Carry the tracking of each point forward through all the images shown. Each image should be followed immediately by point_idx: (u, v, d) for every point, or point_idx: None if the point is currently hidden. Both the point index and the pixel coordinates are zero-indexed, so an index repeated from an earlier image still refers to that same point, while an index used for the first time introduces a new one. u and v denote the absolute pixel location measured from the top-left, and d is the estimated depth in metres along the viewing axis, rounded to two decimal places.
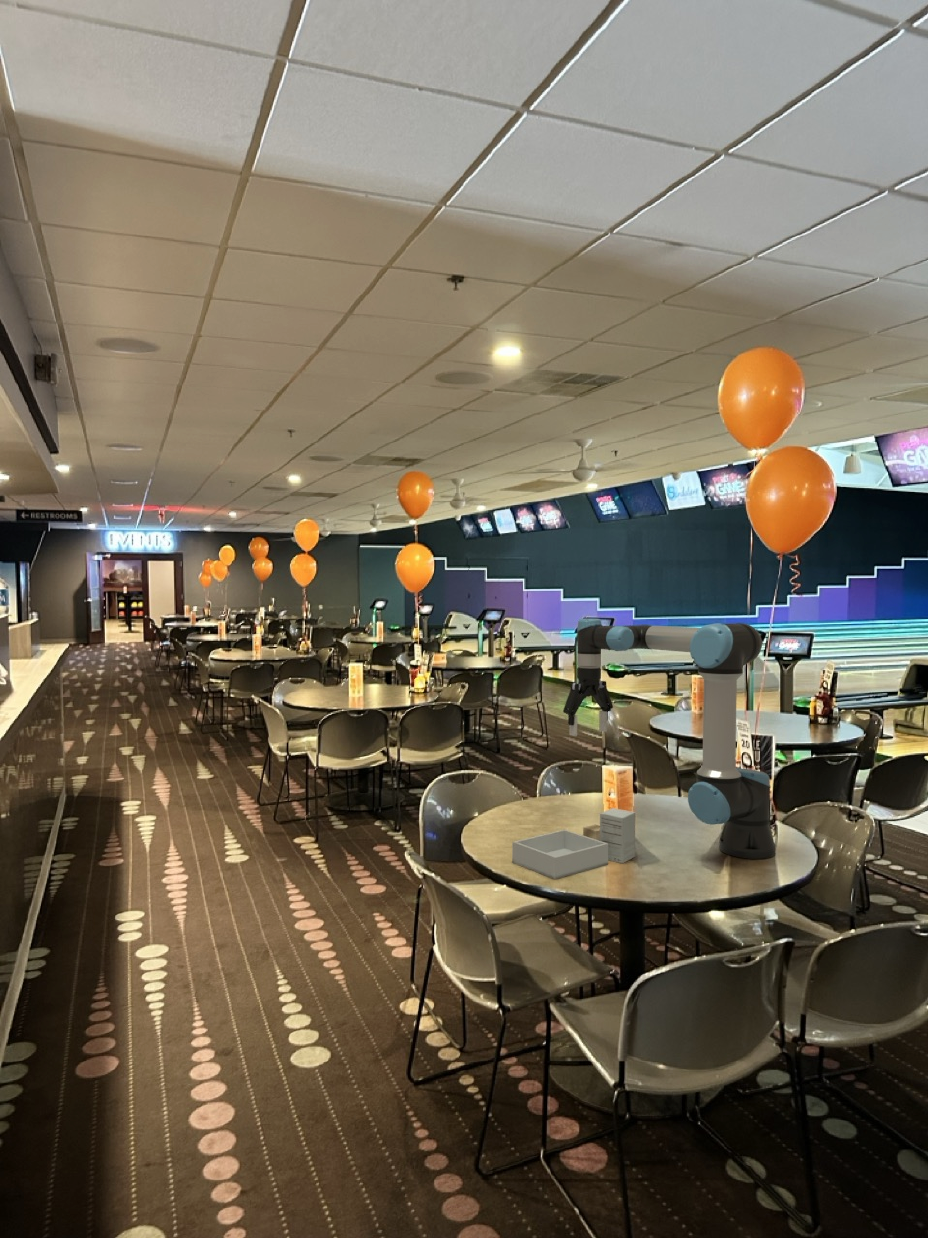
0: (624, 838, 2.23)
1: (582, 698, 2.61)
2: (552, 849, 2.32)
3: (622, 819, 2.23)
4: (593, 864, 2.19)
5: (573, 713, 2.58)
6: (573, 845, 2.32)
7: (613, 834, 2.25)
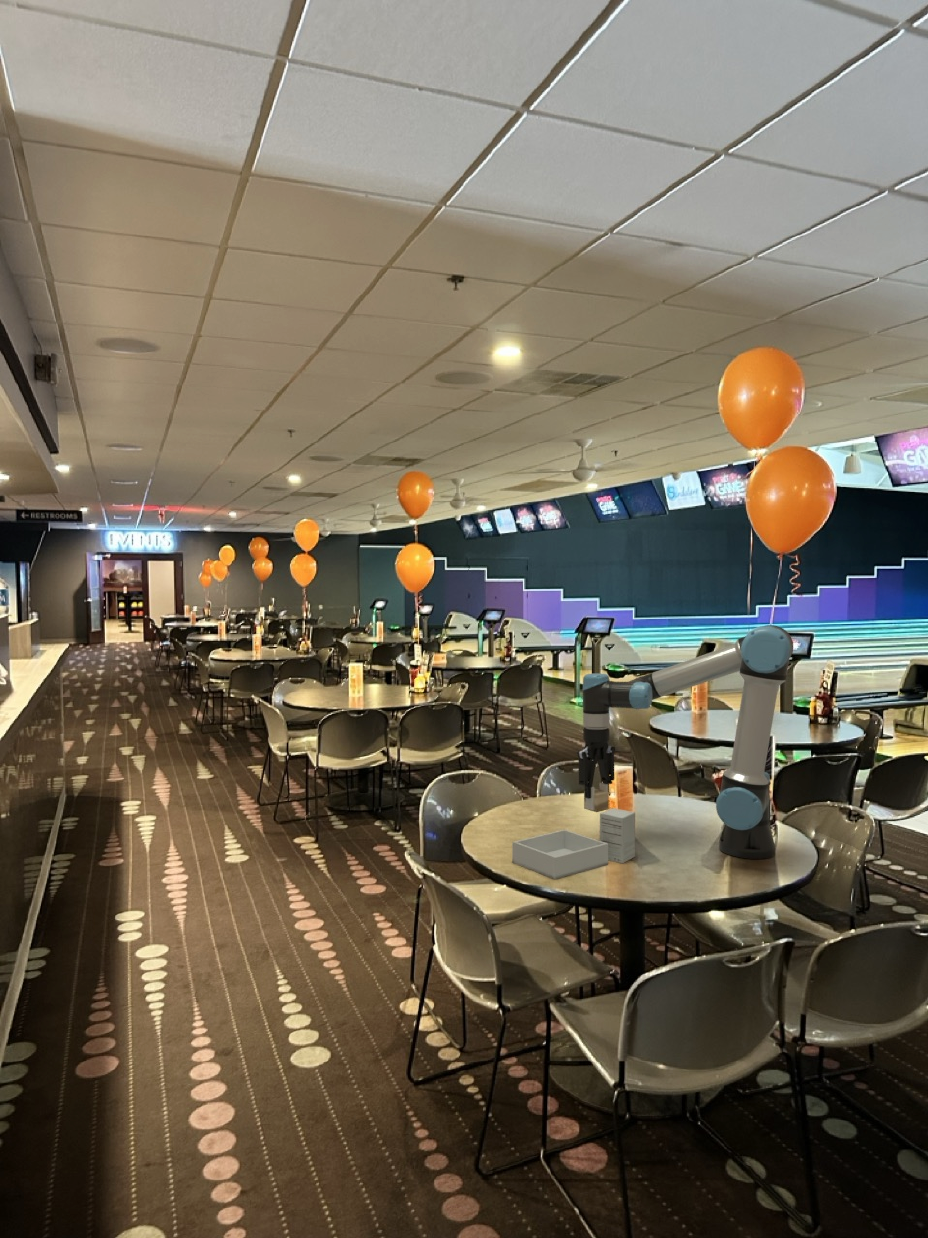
0: (624, 838, 2.23)
1: (594, 765, 2.37)
2: (552, 849, 2.32)
3: (622, 819, 2.23)
4: (593, 864, 2.19)
5: (590, 785, 2.36)
6: (573, 845, 2.32)
7: (613, 834, 2.25)
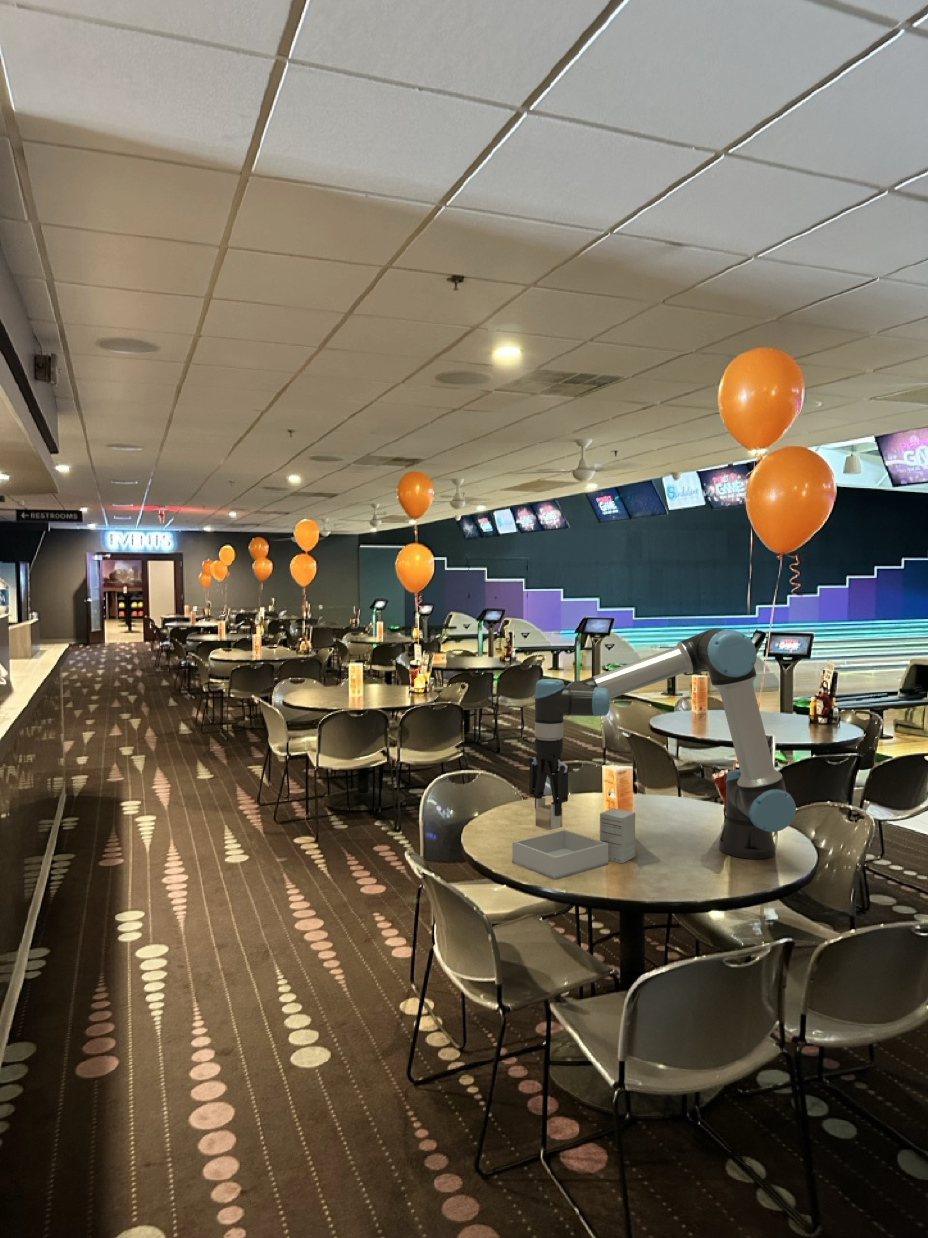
0: (624, 838, 2.23)
1: (538, 776, 2.21)
2: (552, 849, 2.32)
3: (622, 819, 2.23)
4: (593, 864, 2.19)
5: (534, 796, 2.22)
6: (573, 845, 2.32)
7: (613, 834, 2.25)
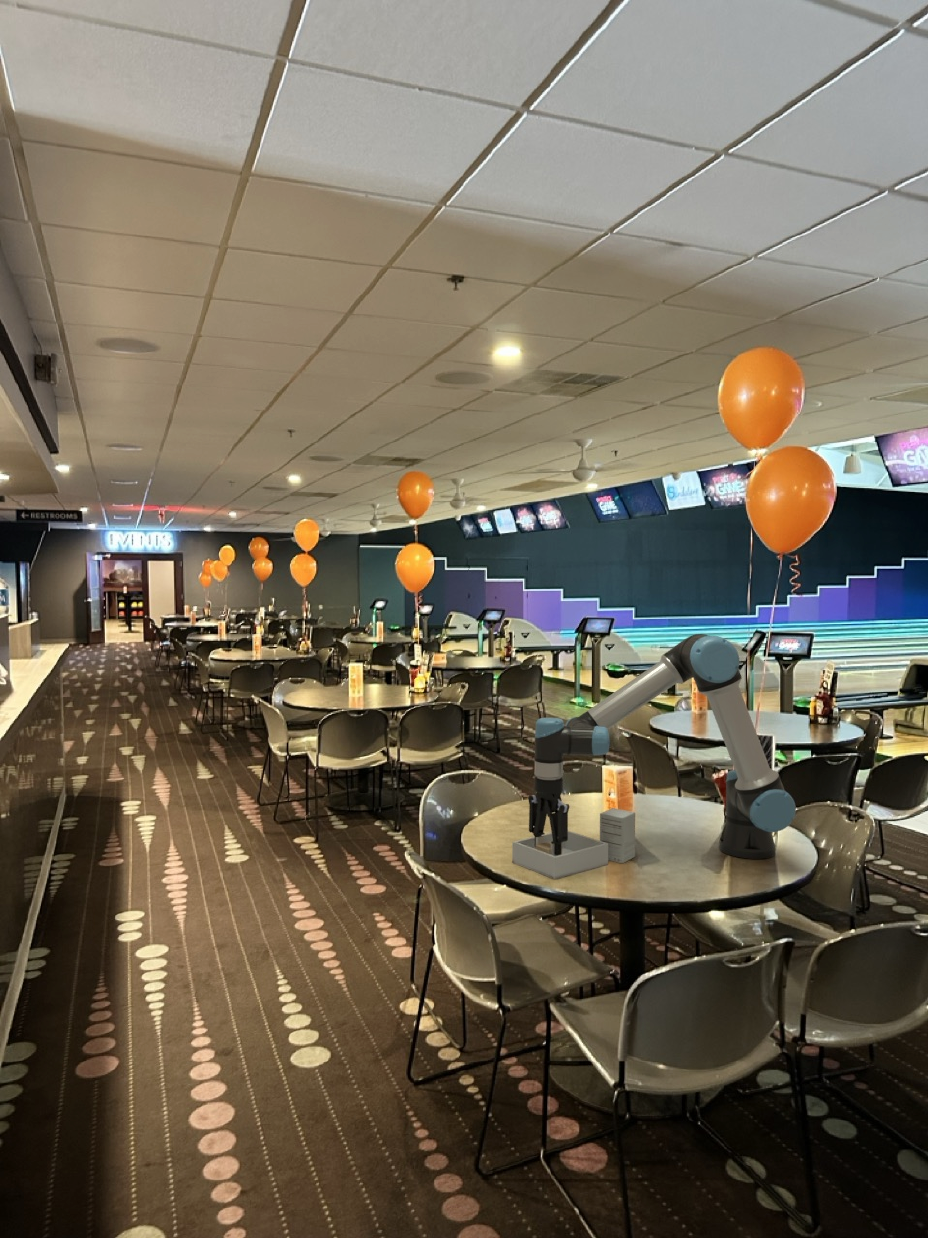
0: (624, 838, 2.23)
1: (538, 814, 2.21)
2: None
3: (622, 819, 2.23)
4: (593, 864, 2.19)
5: (534, 834, 2.23)
6: (573, 845, 2.32)
7: (613, 834, 2.25)
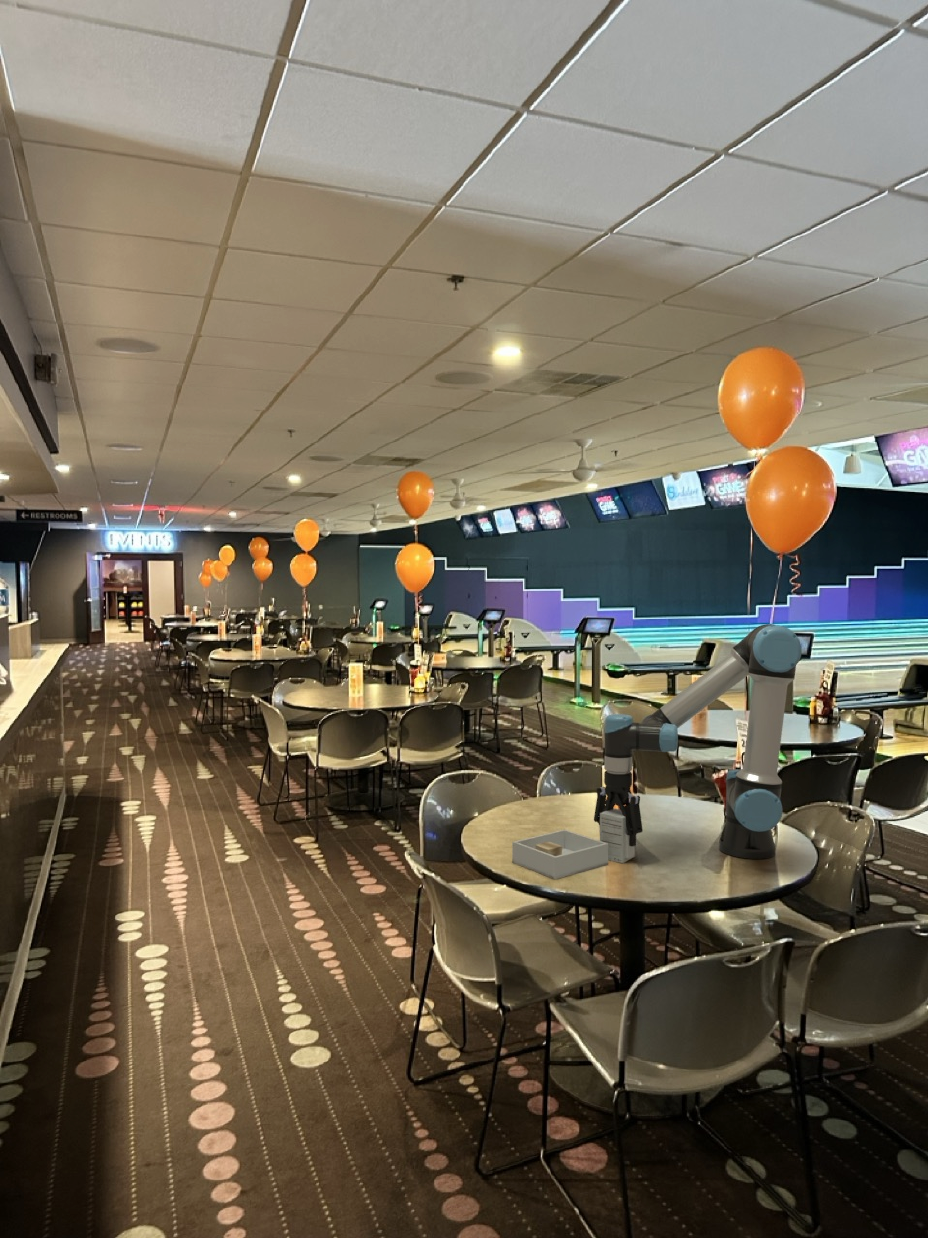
0: (624, 838, 2.23)
1: (606, 806, 2.29)
2: None
3: (622, 819, 2.23)
4: (593, 864, 2.19)
5: (599, 823, 2.32)
6: (573, 845, 2.32)
7: (613, 834, 2.25)
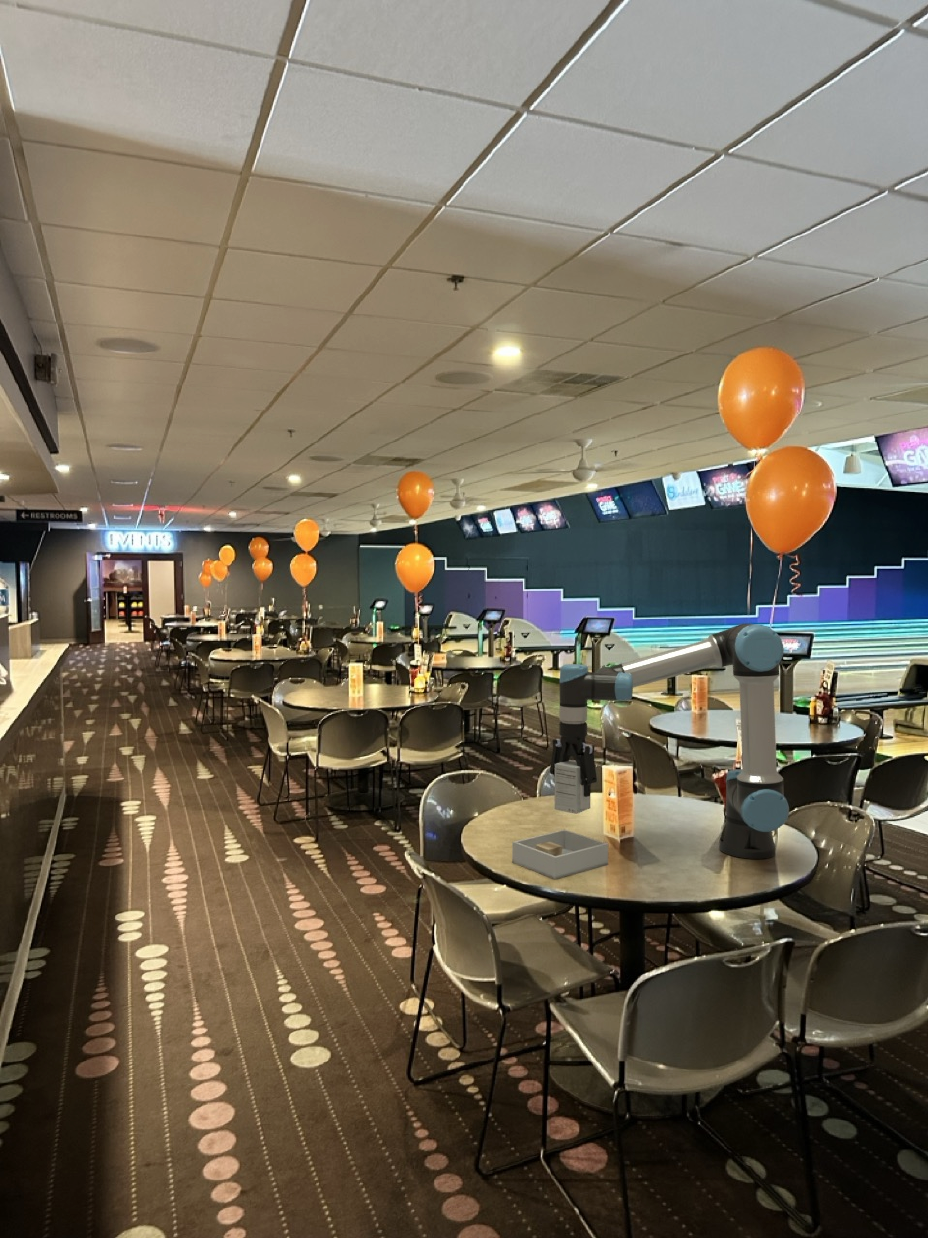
0: (578, 788, 2.21)
1: (561, 757, 2.27)
2: None
3: (576, 769, 2.20)
4: (593, 864, 2.19)
5: None
6: (573, 845, 2.32)
7: (568, 785, 2.22)
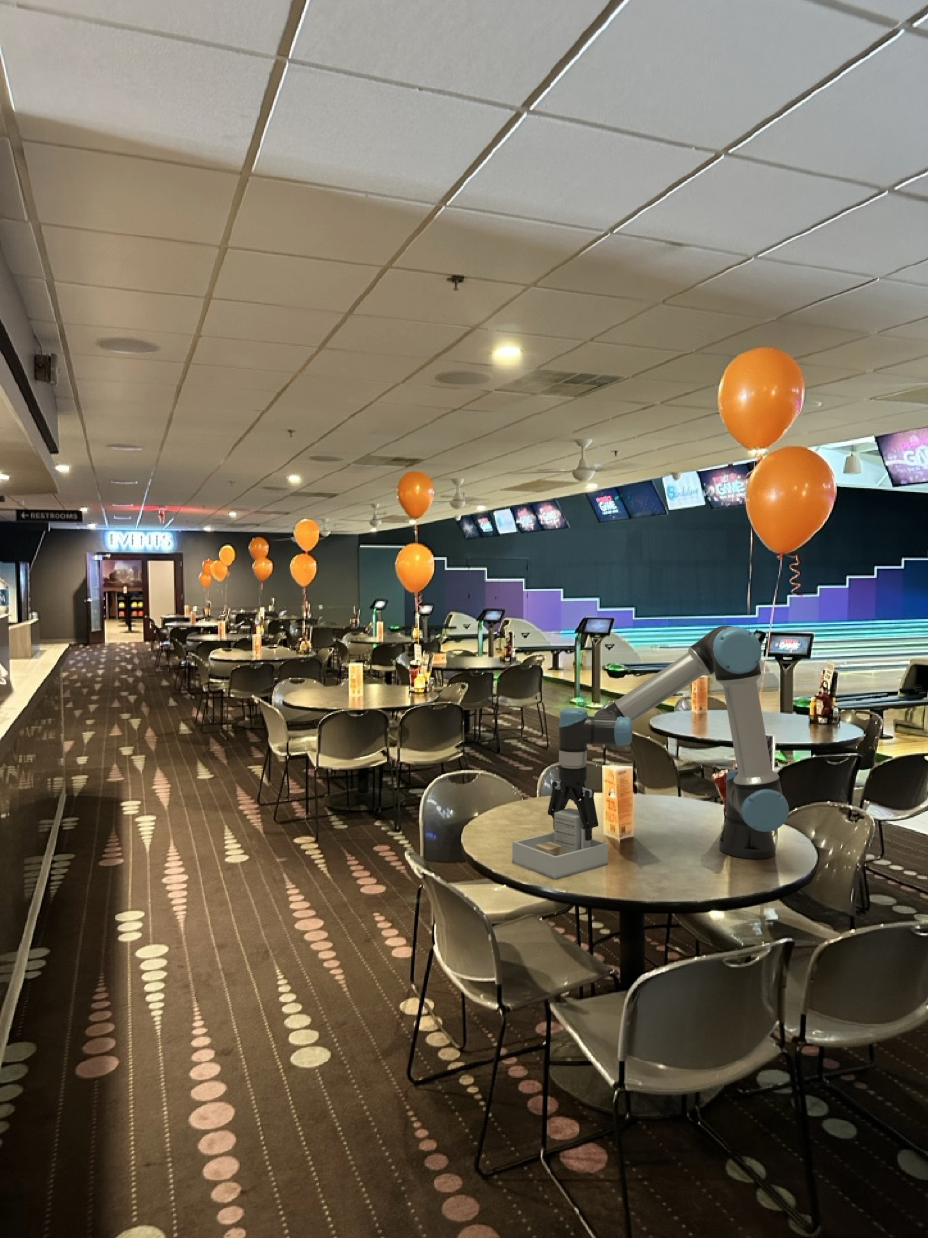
0: (577, 838, 2.21)
1: (560, 800, 2.27)
2: None
3: (575, 819, 2.21)
4: (593, 864, 2.19)
5: (553, 816, 2.30)
6: None
7: (567, 834, 2.22)
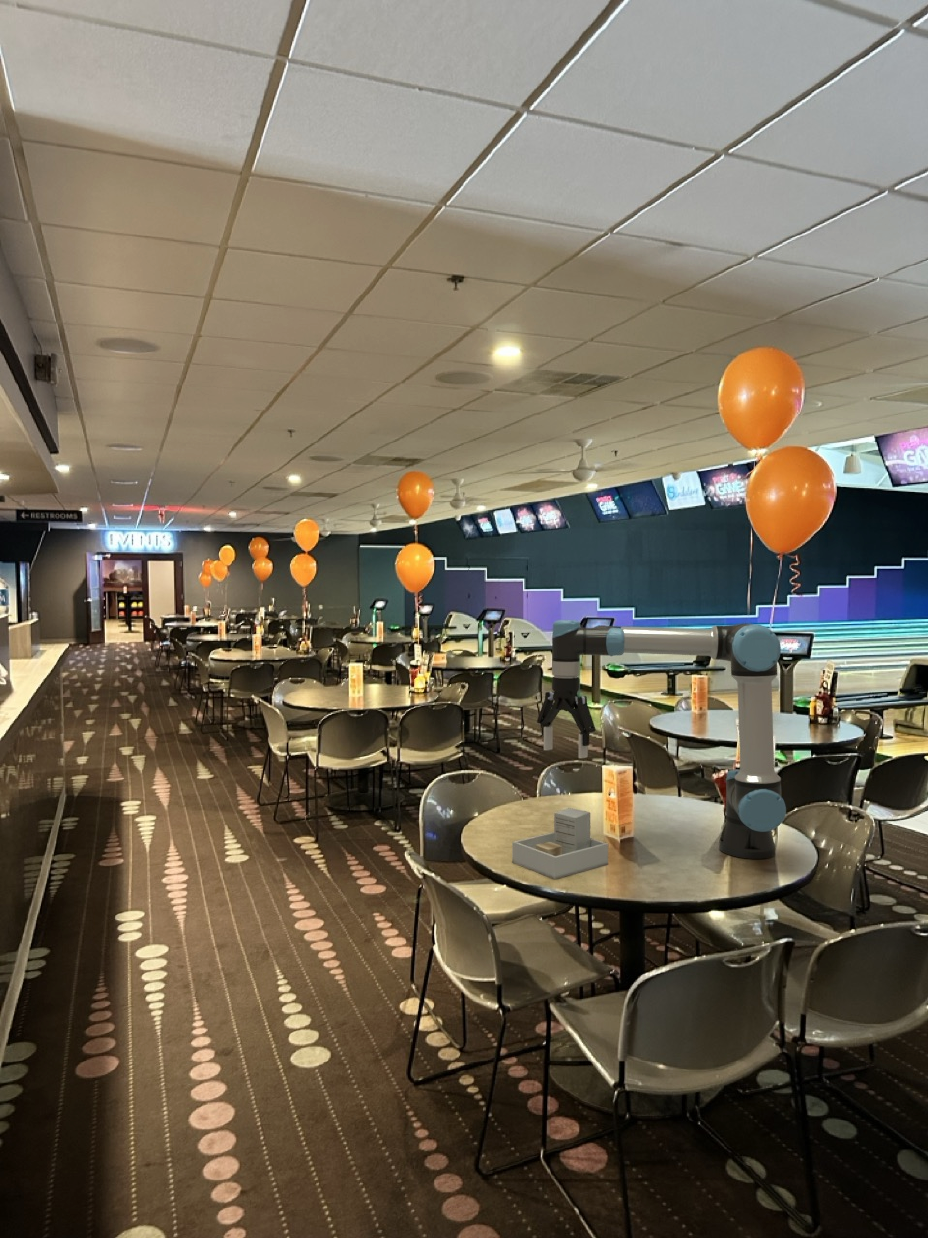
0: (577, 838, 2.21)
1: (551, 710, 2.29)
2: None
3: (575, 819, 2.21)
4: (593, 864, 2.19)
5: (542, 724, 2.33)
6: None
7: (567, 834, 2.22)
